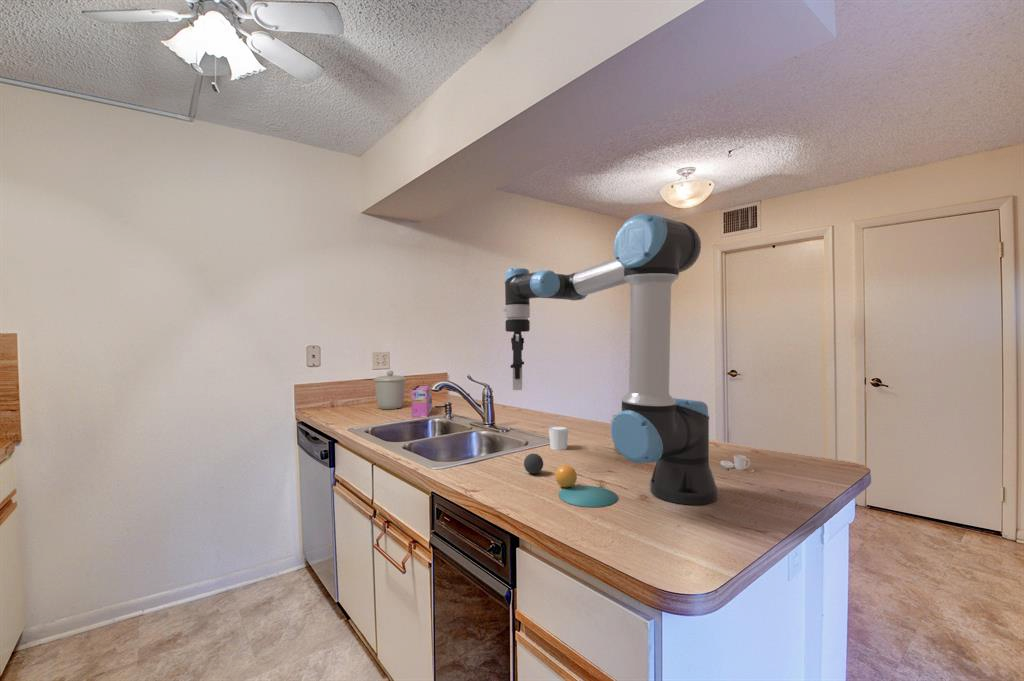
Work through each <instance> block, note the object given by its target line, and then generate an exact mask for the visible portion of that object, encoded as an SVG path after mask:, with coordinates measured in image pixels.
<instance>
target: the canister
mask: <svg viewBox="0 0 1024 681" xmlns="http://www.w3.org/2000/svg"><path fill="white" fill-rule="evenodd" d="M372 380H373V381H374V387H375V388H374V389H375V398H376V403H377V404H376V405H377V407H378V408H379V409H381V410H398V409H401V408H402V407H403V404H404V401H405V400H404V399H405V388H406V380H407V377H405V376H403V375H397V374H396V375H394V371H393V370H387V372H386V375H381V376H380V375H379V376H377V377H375V378H374V379H372ZM397 408H398V409H397Z"/></svg>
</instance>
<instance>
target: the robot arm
mask: <svg viewBox="0 0 1024 681" xmlns="http://www.w3.org/2000/svg"><path fill="white" fill-rule="evenodd" d="M701 248H702V242H701V238H700V236H699V233H698V232H697V230H695V228H694V227H692V226H691V225H689V224H688V223H685V222H681V221H677V220H674V219H669V218H667V217H663V216H661V215H659V214H648V213H640V214H639V213H638V214H636V215H634V216H632V217H630V218H628V219H627V220H626V221H625V222H624V223H623V225H622V226H621V227H619V229H618V231H617V233H616V235H615V237H614V242H613V254H614V258H611V259H609V260H607V261H602V262H601V263H598V264H595V265H592V266H590V267H587V268H584V269H582V270H579V271H576V272H573V273H571V274H570V273H569V274H561V273H555V272H554V270H548V269H547V270H543V269H542V270H538V271H536V272H535V271H534V272H530V271H529V269H527V268H522V267H521V268H520V267H516V268H515V267H514V268H509V269H507V270H506V271H505V281H504V288H505V289H504V293H505V300H504V301H505V303H504V304H505V308H503V312H505V318H506V320H505V332H507V333H509V332H510V333H511V332H513V335H512V337H511V338H510V339H511V340H510V342H511V351H512V352H513V353H512V364H510V369H512V390H513V391H522V390H523V365H525V361H523V359H522V358H523V357H522V356H523V355H522V353H523V350H524V344H525V338H524V337H523V335H522V332H524V333H525V332H530V329H531V328H530V326H531V325H530V324H531V322H530V321H531V320H529V318H530V316H531V314H530V312H531V309H530V308H531V307H530V306H531V305H530V299H554V300H568V301H581V300H584V299H586V298H587V296H588V295H592V294H594V293H598V292H601V291H604V290H608V289H612V288H615V287H618V286H622V285H625V284H629V287H630V293H629V294H630V295H629V296H630V298H629V300H630V306H629V359H628V360H629V362H628V363H629V367H628V368H629V369H628V370H629V371H628V373H629V374H628V376H629V377H628V392H627V393H626V394H625V395H624V396H622V397H621V411H620V412H618V413H617V414H615V415H616V417H615V418H614V419H613V421H612V423H611V424H610V435H611V439H612V442H613V445H615V447H616V448H617V449H618V450H619V451H620V453H621V454H620V455H621V456H622V457H624V458H625V459H626V460H628V461H629V462H631V463H635V464H648V463H650V464H651V463H655V462H656V464H655V467H654V469H653V472H652V476H651V479H650V482H649V483H650V486H649V487H650V489H649V490H650V493H651V494H652V495H653V496H654V497H656V498H659V499H661V500H663V501H668V502H670V503H674V504H682V505H690V506H691V505H693V506H694V505H696V506H698V505H706V504H707V505H708V504H711V503H714V502H715V501H717V499H718V487H717V485H716V482H715V479H714V475H713V472H712V470H711V466H710V462H709V461H710V456H709V455H710V453H709V452H710V450H709V449H710V436H709V435H710V432H709V430H710V429H709V428H710V424H709V423H710V415H709V406H708V405H707V403H705V402H704V401H702V400H701V401H700V400H692V399H683V398H674V397H672V396H671V395H670V361H671V360H670V355H671V354H670V353H671V317H672V316H671V315H672V314H671V313H672V312H671V308H672V307H671V306H672V304H671V303H672V285H673V283H674V282H676V280H678V279H679V277H680V276H679V275H680V273H683V272H686V271H687V270H688V269H690V268H691V267H692V266H693V265H694V264H695V263H696V262H697V261H698V259H699V256H700V254H701ZM615 447H614V448H615Z"/></svg>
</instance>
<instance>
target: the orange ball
mask: <svg viewBox="0 0 1024 681" xmlns="http://www.w3.org/2000/svg"><path fill="white" fill-rule="evenodd" d="M554 475H555V476H554V479H555V481H556V483H557V484H558V486H560V487H562V488H564V489H565V488H568V487H573V486H575V484H576V482H577V478H578V476H577V475H578V474H577V472H576V470H575V468H574V467H572V466H571V465H569V464H566V465H565V464H564V465H561V466H559V467H558V468H557V469H556V470H555V474H554Z"/></svg>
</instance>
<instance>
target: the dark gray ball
mask: <svg viewBox="0 0 1024 681" xmlns="http://www.w3.org/2000/svg"><path fill="white" fill-rule="evenodd" d="M523 466H524V469H525V471H526V472H528V473H530V474H532V475H533V474H534V475H535V474H538V473H540V472H541V471H542V470H543V467H544V460H543V458H542V456H540V454H538V453H530V454H528V455H526V457H525V458H524V460H523Z"/></svg>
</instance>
